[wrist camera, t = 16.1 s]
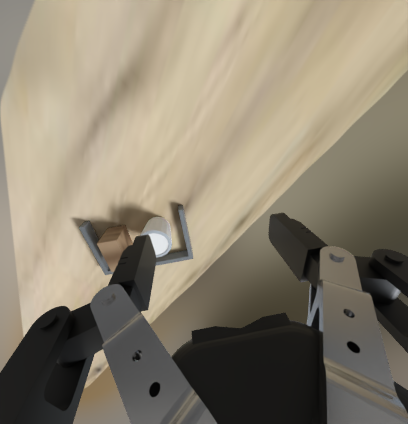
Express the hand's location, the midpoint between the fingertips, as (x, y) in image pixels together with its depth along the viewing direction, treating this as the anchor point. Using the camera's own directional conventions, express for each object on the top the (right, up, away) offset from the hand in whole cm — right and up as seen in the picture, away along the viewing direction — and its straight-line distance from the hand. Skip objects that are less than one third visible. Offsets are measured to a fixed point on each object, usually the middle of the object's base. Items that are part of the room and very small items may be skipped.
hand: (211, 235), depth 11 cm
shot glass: (-11, -2, +30) cm, 32 cm away
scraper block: (-20, -5, +30) cm, 37 cm away
